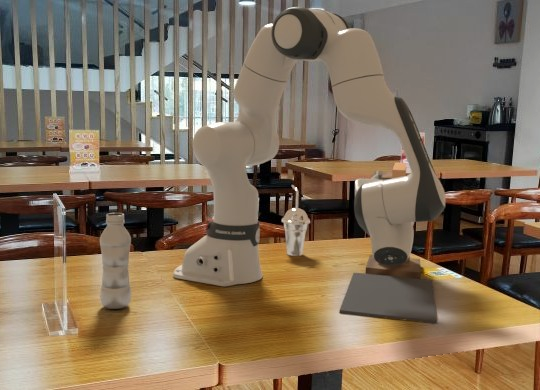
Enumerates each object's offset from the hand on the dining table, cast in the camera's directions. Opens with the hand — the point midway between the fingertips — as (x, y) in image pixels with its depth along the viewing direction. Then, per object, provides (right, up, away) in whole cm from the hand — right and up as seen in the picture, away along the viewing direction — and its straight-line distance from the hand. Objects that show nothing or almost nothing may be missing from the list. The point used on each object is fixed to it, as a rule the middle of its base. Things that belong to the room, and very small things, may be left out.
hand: (398, 174), depth 145 cm
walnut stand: (+2, -26, +15) cm, 30 cm away
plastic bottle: (-65, -29, -20) cm, 74 cm away
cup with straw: (-25, -23, +29) cm, 44 cm away
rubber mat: (-4, -29, -7) cm, 30 cm away
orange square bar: (+1, -1, +6) cm, 6 cm away
